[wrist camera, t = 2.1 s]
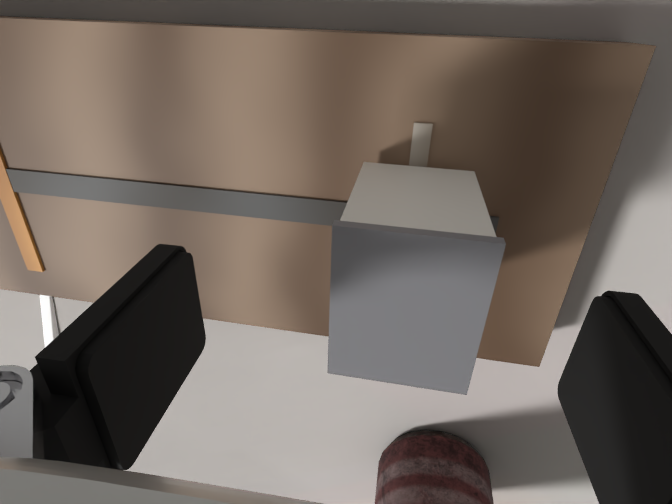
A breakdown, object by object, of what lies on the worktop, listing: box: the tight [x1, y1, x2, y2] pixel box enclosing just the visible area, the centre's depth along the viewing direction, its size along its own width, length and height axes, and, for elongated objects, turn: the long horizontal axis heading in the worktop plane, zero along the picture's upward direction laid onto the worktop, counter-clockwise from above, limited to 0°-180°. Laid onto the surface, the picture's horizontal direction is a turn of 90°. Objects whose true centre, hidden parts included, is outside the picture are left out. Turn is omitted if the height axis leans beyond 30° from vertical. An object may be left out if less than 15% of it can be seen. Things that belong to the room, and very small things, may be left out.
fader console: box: [0, 16, 656, 367], centre depth 17 cm, size 30×12×2 cm, turn 88°
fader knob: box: [328, 162, 506, 395], centre depth 13 cm, size 4×5×5 cm
